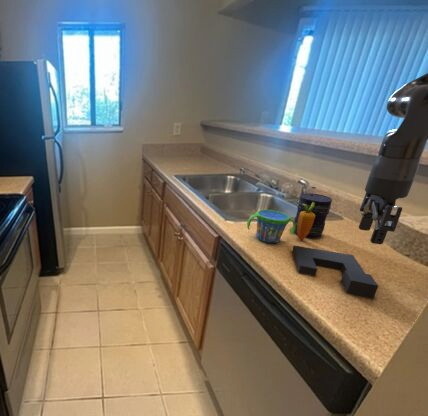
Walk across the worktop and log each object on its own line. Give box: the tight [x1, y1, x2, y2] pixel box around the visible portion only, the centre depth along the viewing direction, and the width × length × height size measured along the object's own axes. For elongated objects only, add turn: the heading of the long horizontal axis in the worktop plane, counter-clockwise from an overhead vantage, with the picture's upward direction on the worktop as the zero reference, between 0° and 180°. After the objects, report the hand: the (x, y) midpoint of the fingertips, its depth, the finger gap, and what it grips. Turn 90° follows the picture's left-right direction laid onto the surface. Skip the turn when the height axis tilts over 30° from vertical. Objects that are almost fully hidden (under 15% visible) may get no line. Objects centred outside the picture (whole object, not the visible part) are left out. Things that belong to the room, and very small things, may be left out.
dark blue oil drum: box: [293, 186, 333, 240], centre depth 105 cm, size 10×10×18 cm
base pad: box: [291, 245, 367, 277], centre depth 86 cm, size 16×14×2 cm
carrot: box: [297, 202, 315, 241], centre depth 100 cm, size 5×5×15 cm
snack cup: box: [246, 209, 296, 244], centre depth 102 cm, size 16×10×10 cm
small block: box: [340, 270, 379, 299], centre depth 75 cm, size 6×6×4 cm
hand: (369, 236), depth 71 cm, fingers open, 8 cm apart
